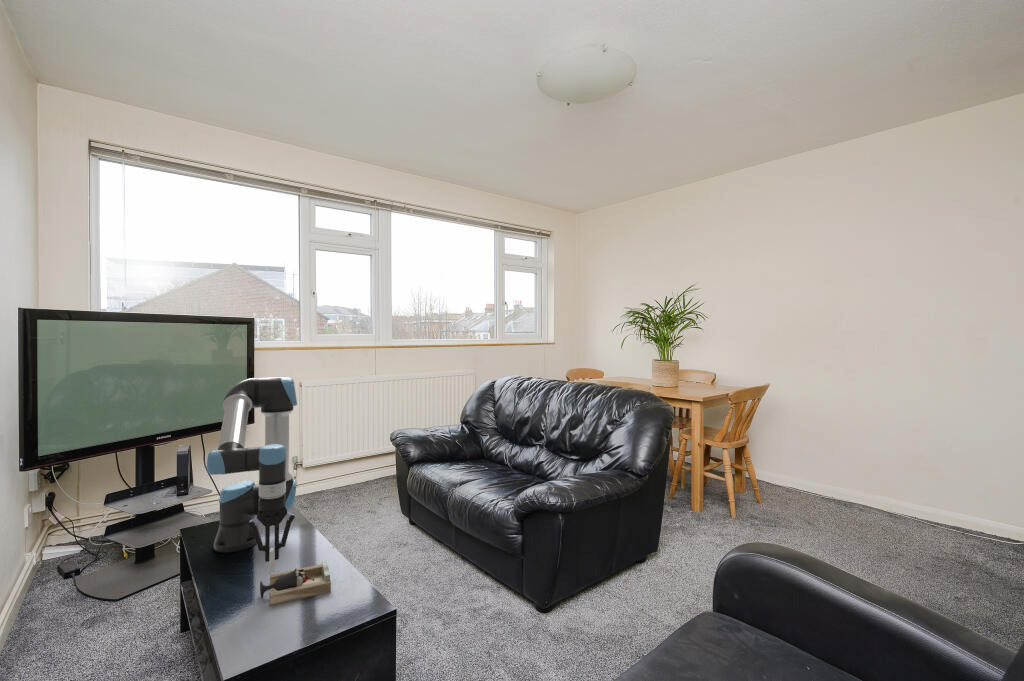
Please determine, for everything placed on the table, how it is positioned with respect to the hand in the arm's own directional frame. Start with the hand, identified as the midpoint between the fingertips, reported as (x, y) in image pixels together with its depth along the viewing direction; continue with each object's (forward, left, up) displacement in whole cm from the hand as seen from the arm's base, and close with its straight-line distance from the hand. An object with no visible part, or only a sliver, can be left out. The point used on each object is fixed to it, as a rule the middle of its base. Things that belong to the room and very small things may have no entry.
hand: (271, 570), depth 142 cm
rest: (0, +8, -7) cm, 11 cm away
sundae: (+1, -3, -5) cm, 6 cm away
